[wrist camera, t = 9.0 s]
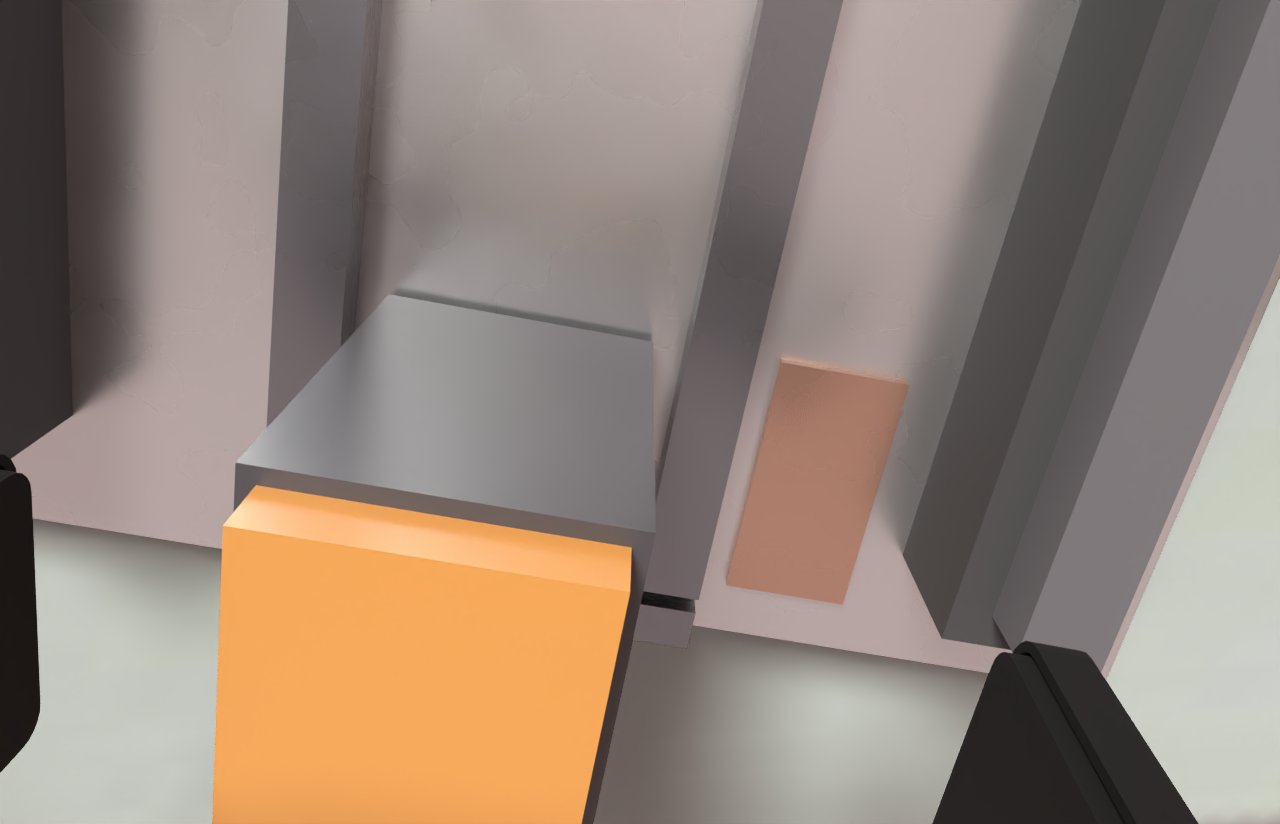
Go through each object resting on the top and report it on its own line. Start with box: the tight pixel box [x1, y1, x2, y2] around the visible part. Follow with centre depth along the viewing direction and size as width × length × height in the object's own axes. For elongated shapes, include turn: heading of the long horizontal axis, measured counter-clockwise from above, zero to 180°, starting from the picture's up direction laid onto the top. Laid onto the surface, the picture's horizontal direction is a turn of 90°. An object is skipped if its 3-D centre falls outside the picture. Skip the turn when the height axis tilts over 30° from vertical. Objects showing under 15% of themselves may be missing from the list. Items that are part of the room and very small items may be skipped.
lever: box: [212, 294, 656, 824], centre depth 13 cm, size 4×4×7 cm
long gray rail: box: [0, 0, 1280, 672], centre depth 13 cm, size 18×12×3 cm, turn 80°
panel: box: [11, 0, 1280, 680], centre depth 15 cm, size 22×16×3 cm
